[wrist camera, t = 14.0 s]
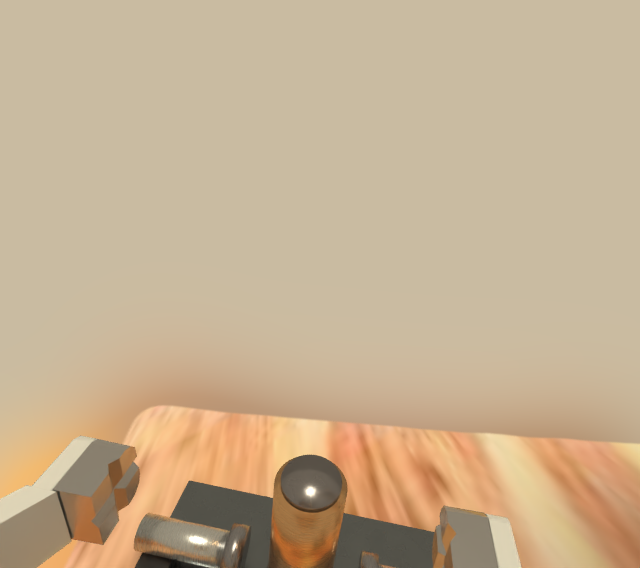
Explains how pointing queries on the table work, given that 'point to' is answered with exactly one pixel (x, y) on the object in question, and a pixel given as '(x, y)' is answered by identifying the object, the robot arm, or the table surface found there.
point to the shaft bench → (263, 535)
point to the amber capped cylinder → (306, 513)
